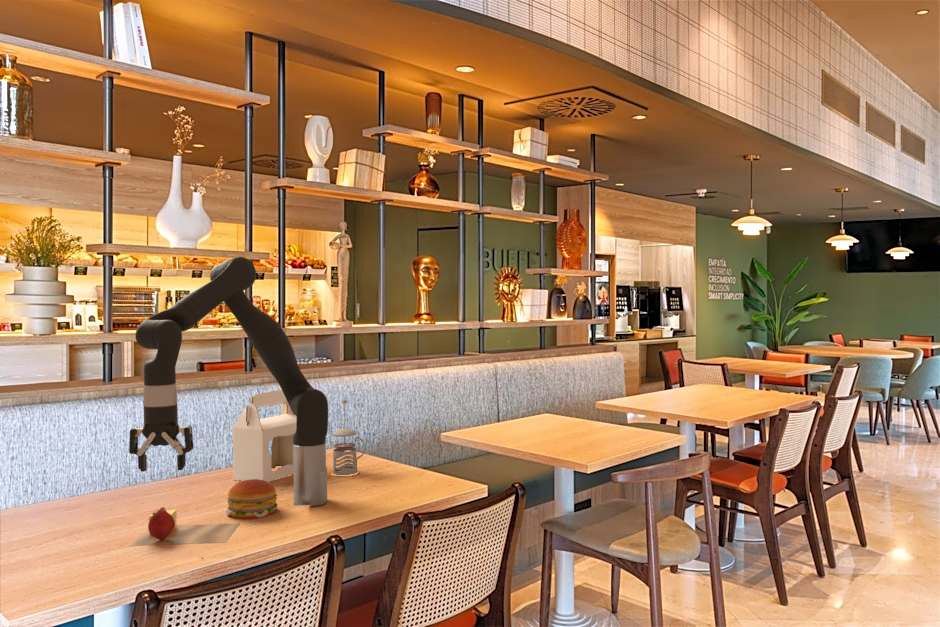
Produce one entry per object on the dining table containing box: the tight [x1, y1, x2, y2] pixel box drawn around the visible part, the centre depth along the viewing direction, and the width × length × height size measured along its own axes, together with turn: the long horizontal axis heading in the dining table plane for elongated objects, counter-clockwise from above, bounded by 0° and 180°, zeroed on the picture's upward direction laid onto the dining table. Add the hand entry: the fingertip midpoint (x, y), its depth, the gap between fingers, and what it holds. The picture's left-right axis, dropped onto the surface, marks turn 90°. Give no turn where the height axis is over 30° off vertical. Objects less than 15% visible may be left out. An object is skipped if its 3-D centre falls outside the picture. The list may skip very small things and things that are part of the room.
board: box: [130, 522, 241, 547], centre depth 181 cm, size 22×18×1 cm
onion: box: [147, 506, 175, 540], centre depth 178 cm, size 6×6×8 cm
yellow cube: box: [148, 508, 178, 534], centre depth 185 cm, size 5×5×5 cm
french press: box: [331, 399, 366, 475], centre depth 250 cm, size 10×12×25 cm
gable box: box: [232, 389, 297, 483], centre depth 248 cm, size 22×13×28 cm, turn 152°
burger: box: [226, 479, 279, 520], centre depth 201 cm, size 14×14×10 cm
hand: (162, 470), depth 178 cm, fingers open, 8 cm apart
